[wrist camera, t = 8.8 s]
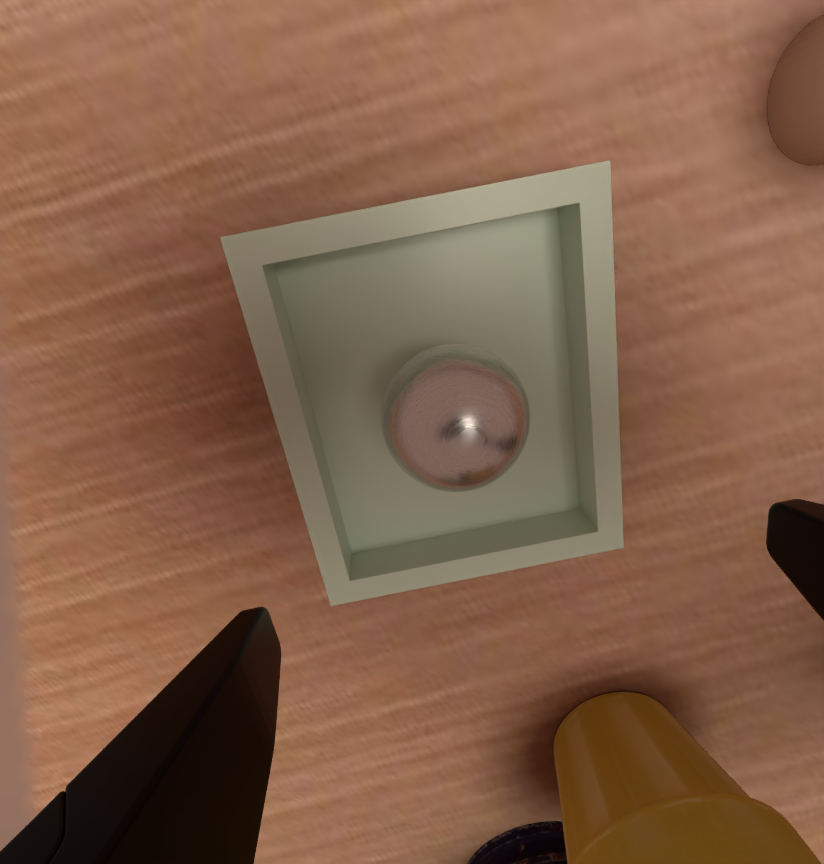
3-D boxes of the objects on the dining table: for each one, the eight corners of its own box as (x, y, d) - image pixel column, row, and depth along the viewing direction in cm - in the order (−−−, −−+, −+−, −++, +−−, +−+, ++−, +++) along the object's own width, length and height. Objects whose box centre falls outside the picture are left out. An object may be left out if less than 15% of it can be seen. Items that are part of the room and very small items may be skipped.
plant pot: (504, 686, 25) (576, 933, 16) (701, 642, 25) (887, 866, 16) (529, 814, 29) (600, 1075, 20) (701, 776, 29) (853, 1021, 20)
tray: (597, 516, 22) (623, 547, 20) (335, 568, 22) (330, 606, 20) (578, 172, 17) (610, 160, 15) (240, 239, 17) (219, 237, 15)
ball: (513, 443, 20) (558, 502, 15) (393, 468, 20) (401, 534, 15) (499, 320, 18) (545, 344, 14) (366, 347, 18) (366, 380, 13)
